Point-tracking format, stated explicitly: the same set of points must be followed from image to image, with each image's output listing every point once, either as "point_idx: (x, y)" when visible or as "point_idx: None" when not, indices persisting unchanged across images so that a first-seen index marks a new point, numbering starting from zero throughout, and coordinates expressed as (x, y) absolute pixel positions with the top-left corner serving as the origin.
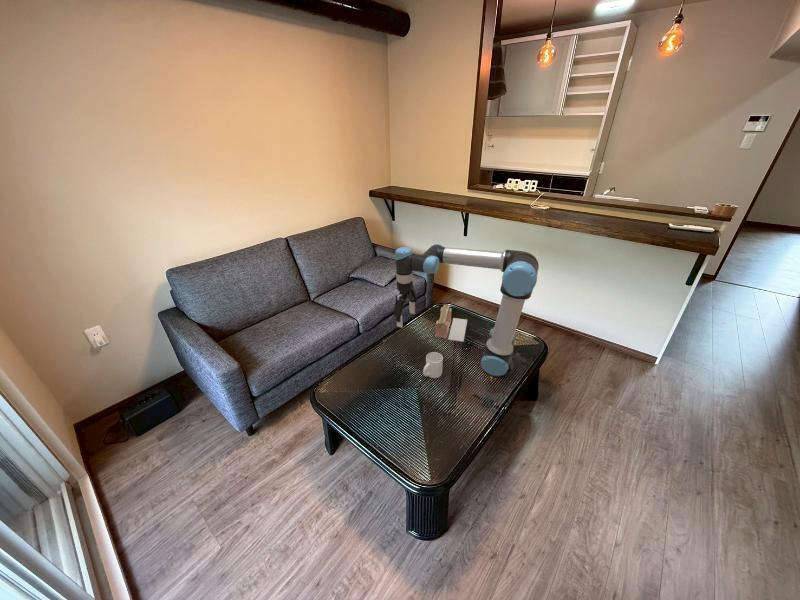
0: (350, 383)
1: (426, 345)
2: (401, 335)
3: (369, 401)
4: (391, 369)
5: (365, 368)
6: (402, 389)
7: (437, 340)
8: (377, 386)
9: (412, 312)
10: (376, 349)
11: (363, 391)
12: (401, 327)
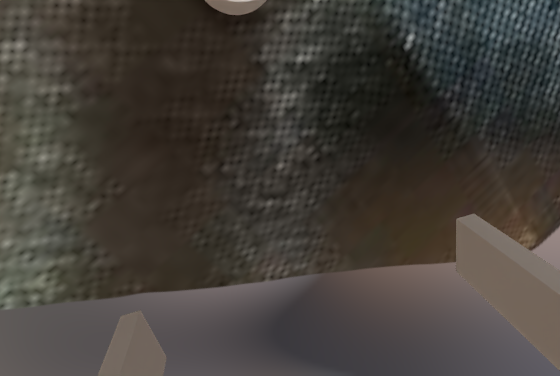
0: (469, 206)
1: (93, 145)
2: (136, 277)
3: (513, 92)
4: (337, 152)
5: (387, 226)
6: (407, 29)
7: (7, 128)
8: (440, 125)
9: (147, 344)
10: (281, 277)
11: (482, 145)
12: (474, 218)
